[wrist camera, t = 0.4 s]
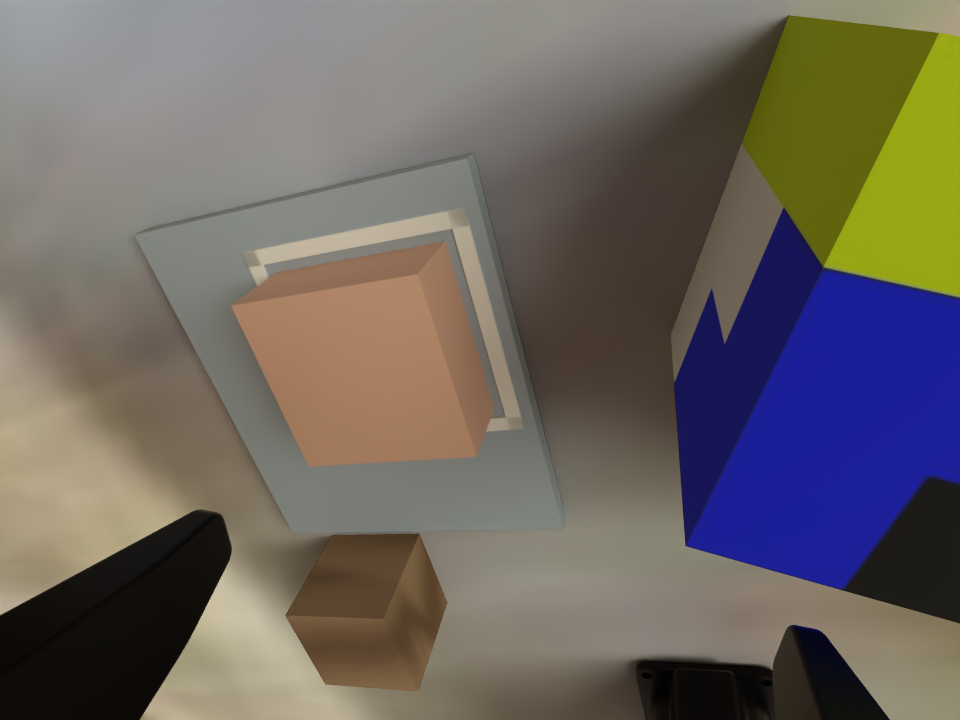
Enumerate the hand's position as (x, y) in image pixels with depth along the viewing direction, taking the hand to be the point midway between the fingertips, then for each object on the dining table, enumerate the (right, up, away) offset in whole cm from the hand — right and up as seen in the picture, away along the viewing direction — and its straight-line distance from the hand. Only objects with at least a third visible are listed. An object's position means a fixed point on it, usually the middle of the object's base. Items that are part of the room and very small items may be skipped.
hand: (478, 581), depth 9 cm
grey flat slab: (-5, +3, +16) cm, 17 cm away
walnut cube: (-5, -7, +22) cm, 24 cm away
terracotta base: (-4, +4, +14) cm, 15 cm away
